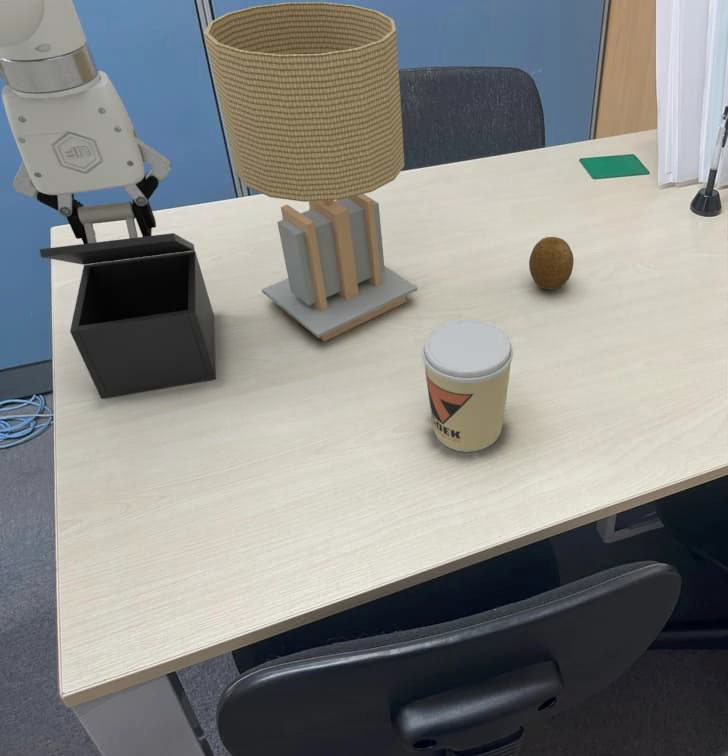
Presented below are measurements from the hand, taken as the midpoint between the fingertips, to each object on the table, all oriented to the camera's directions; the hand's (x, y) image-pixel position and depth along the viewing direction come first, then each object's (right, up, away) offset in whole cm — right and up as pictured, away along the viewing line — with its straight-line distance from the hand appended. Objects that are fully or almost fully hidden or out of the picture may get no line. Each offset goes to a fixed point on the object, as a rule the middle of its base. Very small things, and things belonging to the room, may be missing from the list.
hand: (119, 236), depth 77 cm
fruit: (+49, -3, +25) cm, 55 cm away
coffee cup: (+38, -21, +3) cm, 44 cm away
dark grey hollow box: (-1, -12, +11) cm, 16 cm away
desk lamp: (+20, -5, +20) cm, 29 cm away
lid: (0, -2, +2) cm, 3 cm away
